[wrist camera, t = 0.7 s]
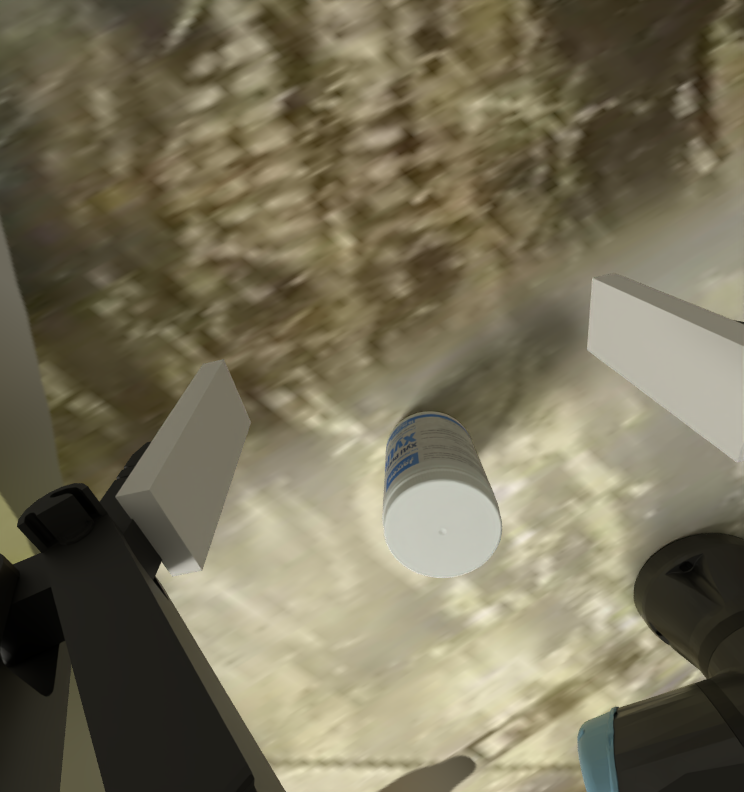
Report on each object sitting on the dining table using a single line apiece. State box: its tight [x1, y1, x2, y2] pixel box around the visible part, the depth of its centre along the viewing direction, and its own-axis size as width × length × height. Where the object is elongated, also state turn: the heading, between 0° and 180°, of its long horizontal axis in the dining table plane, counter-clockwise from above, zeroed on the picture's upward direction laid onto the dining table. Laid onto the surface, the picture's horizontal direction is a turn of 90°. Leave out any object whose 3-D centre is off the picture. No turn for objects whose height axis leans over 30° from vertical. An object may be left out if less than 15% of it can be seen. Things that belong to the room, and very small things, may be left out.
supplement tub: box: [383, 411, 502, 578], centre depth 38 cm, size 10×10×15 cm
